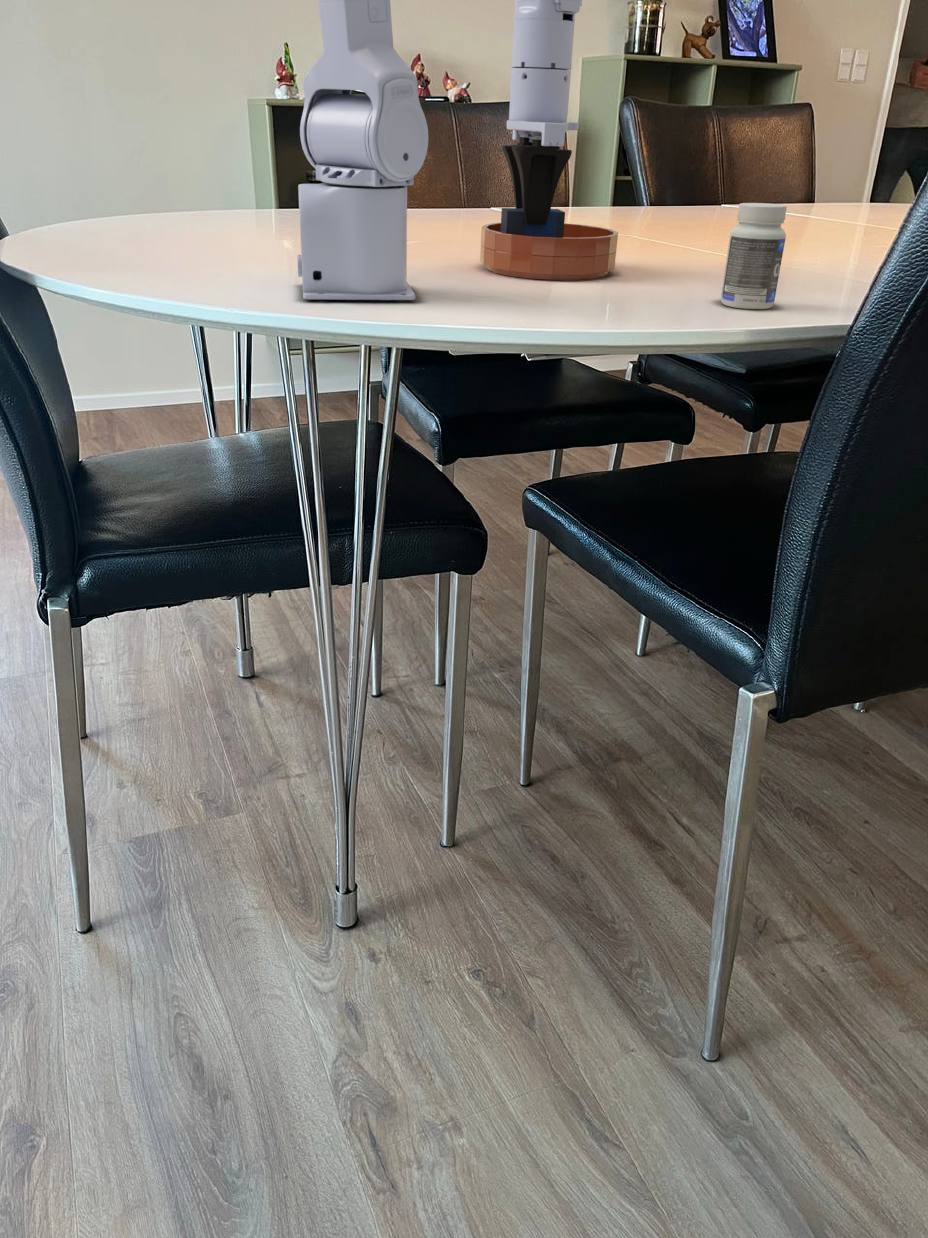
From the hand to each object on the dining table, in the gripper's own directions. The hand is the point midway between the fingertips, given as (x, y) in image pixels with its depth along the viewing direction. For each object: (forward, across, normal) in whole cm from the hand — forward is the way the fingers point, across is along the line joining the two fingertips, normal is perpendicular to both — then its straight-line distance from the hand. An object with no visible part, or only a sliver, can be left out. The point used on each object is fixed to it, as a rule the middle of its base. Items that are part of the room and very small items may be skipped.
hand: (531, 222), depth 98 cm
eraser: (+1, 0, 0) cm, 1 cm away
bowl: (+5, 0, -2) cm, 5 cm away
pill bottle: (+5, -19, -16) cm, 25 cm away
